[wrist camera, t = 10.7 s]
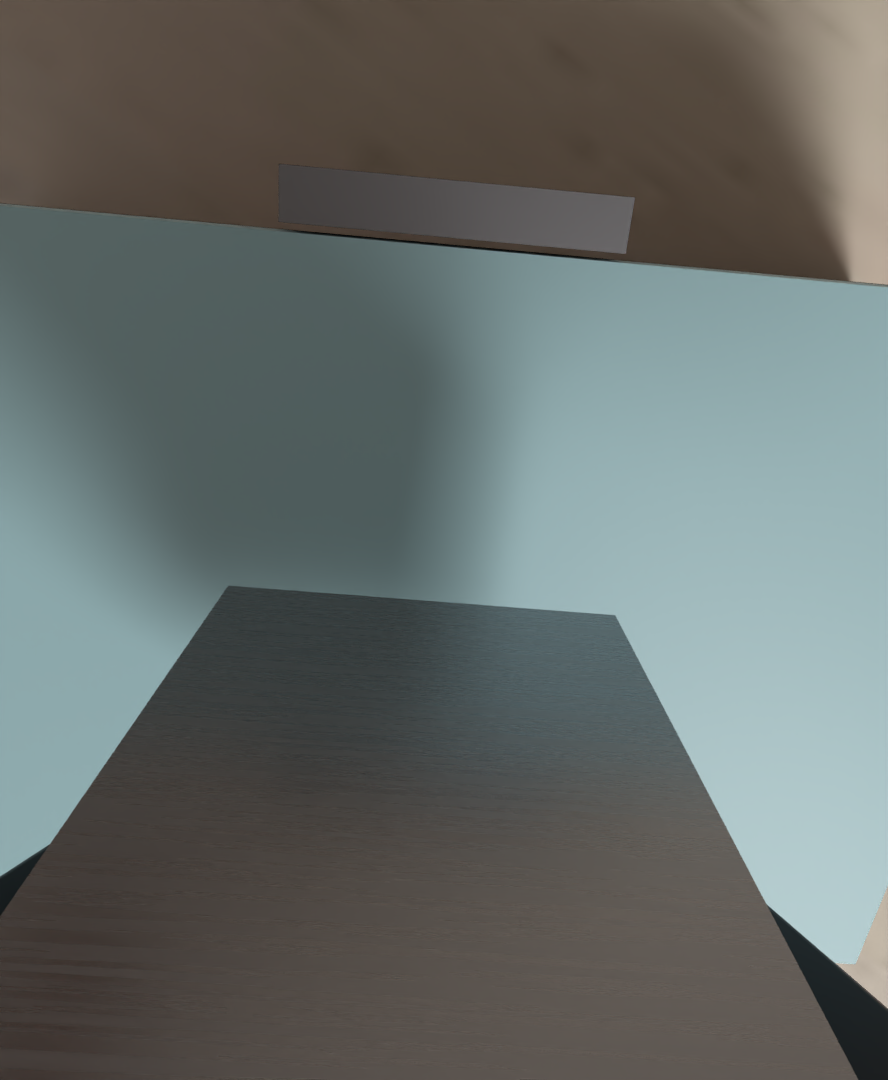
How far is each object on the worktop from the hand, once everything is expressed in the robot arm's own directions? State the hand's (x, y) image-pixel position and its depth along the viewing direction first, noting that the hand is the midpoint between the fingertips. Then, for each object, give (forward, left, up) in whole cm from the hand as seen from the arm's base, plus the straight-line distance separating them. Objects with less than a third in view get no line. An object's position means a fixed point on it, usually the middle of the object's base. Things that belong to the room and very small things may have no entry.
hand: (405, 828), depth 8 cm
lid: (0, 0, -5) cm, 5 cm away
